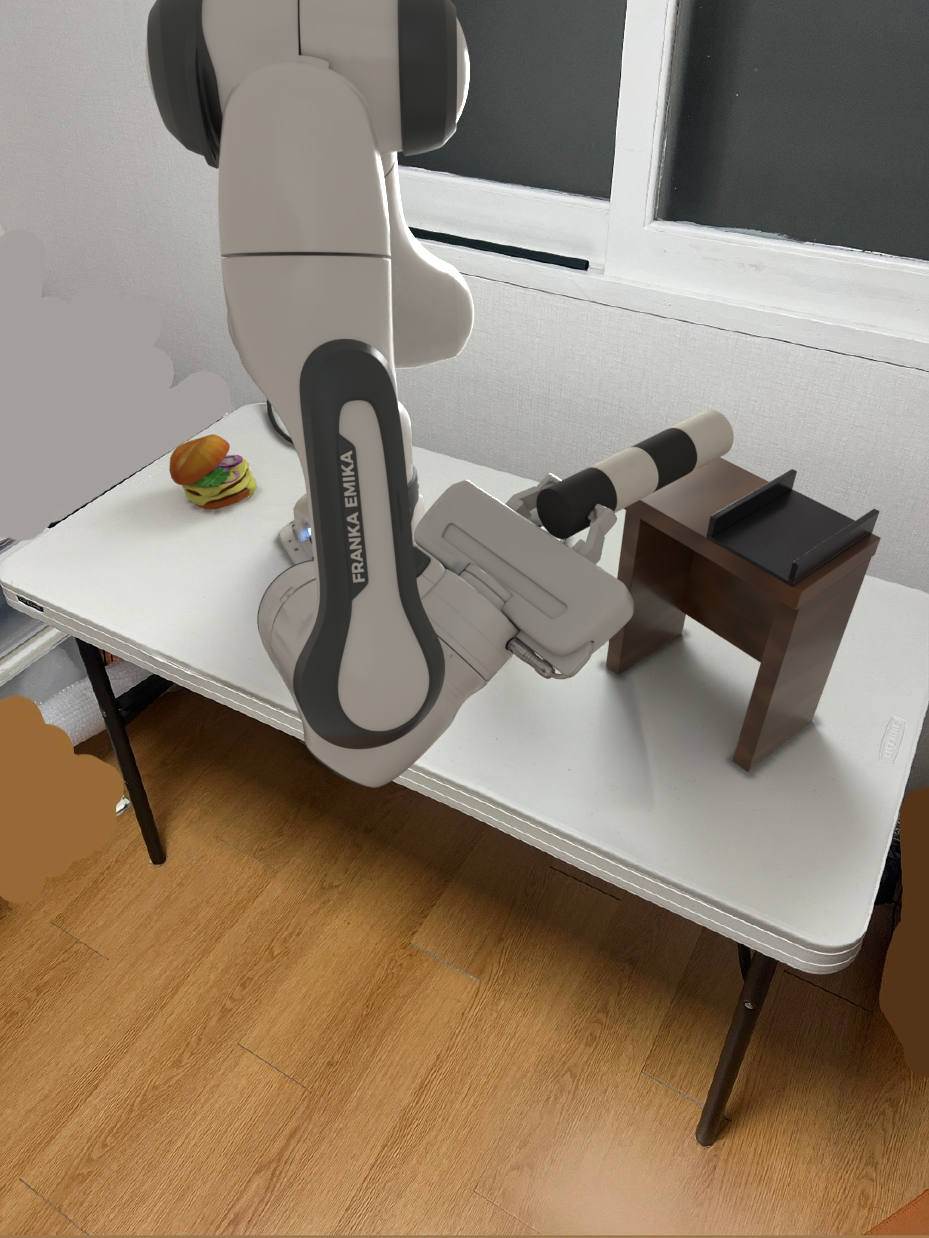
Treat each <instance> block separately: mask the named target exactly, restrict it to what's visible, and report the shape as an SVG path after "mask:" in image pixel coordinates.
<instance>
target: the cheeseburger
mask: <svg viewBox="0 0 929 1238" xmlns="http://www.w3.org/2000/svg"><path fill="white" fill-rule="evenodd" d="M230 445H231V444H230V443H229V442H228V441H227V440H226V439H225V438H223V437H221V436H219V435H217V434H215V433H213V434H208V435H205V436H202V437H199V438H195V439H192V440H189V441H188V440H187V441H186V442H183V443H182V444H181V443H180V445H178V446H177V447H176V448H175V449H174V450H173V451H172V453H171V455H170V457H169V475H170V478H171V479H172V481H173V483H175V484H177V485H179V486H182V489H183V490H184V493H185V496H186V498H187V499H188V500H189V501H190V502H192V503H193V504H194V505H195V506H197V507H199V508H202V509H204V510H220V509H223V508H227V507H230V506H232V505H234V504H238V503H240V502H241V501H243V500H244V499H246V498H250V497H252V496H253V495H254V494H255V492H256V489H257V480H256V478H255V477H253V472H252V471H251V469H250V467H251V466H250V463H249V462H248V461H247V459H246V458H244V457H243V456H242V455H239V454H229V451H230V449H231V447H230ZM228 454H229V455H228Z"/></svg>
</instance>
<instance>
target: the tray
mask: <svg viewBox="0 0 929 1238" xmlns="http://www.w3.org/2000/svg"><path fill="white" fill-rule="evenodd" d="M797 473H798V471H797V470H796V469H793V468H791V469H789V470H788V471H786V472H784V473H782V474H781V475H779V476H777V477H776V478H774V479H772V480H770V481H769V483H767V484H765V485H763V486H762V487H760V488H758V489H756V490H755V491H753V492H751V493H750V494H748V495H746V496H744V497H743V498H741V499H739V500H737V501H736V502H734V503H732V504H730V505H729V506H727V507H725V508H723V509H722V510H720V511H718V512H717V513H715V514H713V515H711V516H710V520H709V525H708V530H707V535H706V538H707V539H709V540H711V541H712V542H714V543H716V544H718V545H719V546H721V547H723V548H725V549H726V550H728V551H730V552H732V553H733V554H735V555H737V556H739V557H740V558H742V559H744V560H746V561H747V562H749V563H751V564H752V565H754V566H756V567H758V568H759V569H761V570H763V571H765V572H766V573H768V574H770V575H772V576H773V577H775V578H777V579H779V580H780V581H782V582H784V583H786V584H787V585H789V586H791V587H793V586H795V585H796V584H798V583H799V582H801V581H802V580H804V579H805V578H807V577H808V576H809V575H811V574H812V573H814V572H815V571H817V570H818V569H820V568H821V567H823V566H824V565H826V564H827V563H829V562H830V561H832V560H833V559H835V558H836V557H837V556H839V555H840V554H842V553H843V552H845V551H846V550H848V549H849V548H851V547H852V546H854V545H855V544H857V543H858V542H860V541H861V540H863V539H864V538H865V537H867V536H868V535H870V534H871V533H872V534H873V532H874V529H875V527H876V523H877V520H878V517H879V515H880V512H881V511H880V510H878V509H876V508H873V509H871V510H870V511H868V512H866V513H864V514H863V515H862V516H860V517H858V519H853V518H851V517H849V516H848V515H845V514H843V513H841V512H839V511H837V510H835V509H833V508H831V507H829V506H827V505H825V504H823V503H821V502H819V501H817V500H815V499H813V498H811V497H809V496H807V495H806V494H803V493H801V492H799V491H797V490H795V489H793V488H794V485H795V481H796V477H797Z"/></svg>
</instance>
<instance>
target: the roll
mask: <svg viewBox="0 0 929 1238" xmlns="http://www.w3.org/2000/svg"><path fill="white" fill-rule="evenodd" d="M734 439H735V435H734V430H733V427H732V424H731V423H730V421H729V420H728V418H727V417H726V415H724V414H723V413H721V411H717V410H715V409H706V410H704V411H701V412H699V413H697V414H695V415H693V416H691V417H689V418H687V419H685V420H682V421H680V422H679V423H676V424H674V425H673V426H670V427H668V428H666V429H664V430H662V431H660V432H658V433H656V434H654V435H652V436H650V437H647V438H645V439H643V440H642V441H639V442H637V443H635V444H634V445H632V446H629V447H628V448H625V449H623V450H621V451H619V452H617V453H615V454H612V455H611V456H608V457H607V458H605V459H603V460H601V461H599V462H596V463H594V464H592V465H590V466H589V467H586V468H583V469H582V470H580V471H578V472H576V473H573V474H572V475H570V476H568V477H566V478H564V479H561V480H562V481H560V482H558V483H556V484H554V485H551V486H549V487H547V488H545V489H543V490H542V491H541V492H540V493H539V494H538V497H537V501H536V508H537V513H538V516H539V519H540V521H541V523H542V525H543V526H544V528H545V529H546V530H547V531H548V532H549V533H550V534H551V535H552V536H554V537H555V538H558V539H565V540H567V539H569V538H571V537H573V536H575V535H577V534H579V533H580V532H582V531H584V530H586V529H588V528H590V525H589V523H588V521H587V519H586V518H585V517H586V515H587V514H588V513H589V512H590V511H592V510H594V506H595V505H596V504H598V503H600V504H602V505H604V506H606V507H607V508H610V509H611V510H613V511H614V513H615V514H616V513H618V512H620V511H622V510H625V509H624V508H625V507H627V506H629V505H631V504H633V503H635V502H637V501H639V500H640V499H642V498H644V497H646V496H648V495H650V494H652V493H654V492H655V491H657V490H659V489H661V488H663V487H665V486H667V485H669V484H671V483H672V482H674V481H676V480H678V479H680V478H682V477H684V476H686V475H687V474H689V473H691V472H693V471H695V470H697V469H699V468H701V467H702V466H704V465H706V464H708V463H710V462H712V461H714V460H716V459H718V458H719V457H721V458H722V457H723V456H725V455H727V454H728V453H729V452H730V451H731V449H732V447H733V445H734Z"/></svg>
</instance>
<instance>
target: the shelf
mask: <svg viewBox="0 0 929 1238" xmlns="http://www.w3.org/2000/svg"><path fill="white" fill-rule="evenodd" d="M769 482H770V481H769V480H766V479H765V478H763V477H760V476H759V475H757V474H755V473H753V472H751V471H748V470H746V469H744V468H742V467H741V466H738V465H737V464H734V463H733V462H730V461H728V460H727V459H725V458H723V457H722V456H721V457H719V458H718V459H716V460H714V461H712V462H710V463H708V464H706V465H704V466H702V467H701V468H699V469H697V470H695V471H693V472H691V473H689V474H687V475H686V476H684V477H682V478H680V479H678V480H676V481H674V482H672V483H671V484H669V485H667V486H665V487H663V488H661V489H659V490H657V491H655V492H654V493H652V494H650V495H648V496H646V497H644V498H642V499H640V500H639V501H637V502H635V503H633V504H631V505H629V506H627V507H625V508H624V509H623V510H625V512H624V522H623V529H622V537H621V546H620V551H619V552H620V553H619V560H618V567H617V568H618V569H617V576H616V578H617V579H618V580H620V581H621V582H623V583H624V584H625V586H626V587H627V589H628V590H629V592H630V594H631V596H632V598H633V600H634V611H633V616H632V617H631V619H630V620H629V621H628V622H627V623H626V624H625V625H624V626H623V627H622V628H621V629H620V630H619V631H618V632H617V633H616V634H615V635H614V636H613V637H612V638H611V639H610V640H608V644H607V645H608V646H607V653H606V662H605V667H606V668H607V669H608V670H610V671H611V672H613V673H614V674H615V675H617V676H620V675H621V674H622V673H624V672H626V671H628V670H629V669H631V668H633V666H635V665H636V664H638V663H640V662H641V661H642V660H644V659H646V658H648V657H649V656H651V655H652V654H653V653H655V652H657V651H658V650H659V649H661V648H663V647H664V646H666V645H667V644H668V643H670V642H672V641H673V640H674V639H677V637H679V636H680V635H682V634H683V632H684V626H685V622H686V621H685V620H686V616H688V617H689V618H691V619H692V620H694V621H695V622H696V623H699V624H700V625H701V626H703V627H704V628H706V629H708V630H709V631H711V632H712V633H714V634H715V635H717V636H718V637H720V638H722V639H723V640H725V641H726V642H728V643H729V644H731V645H732V646H734V647H736V648H737V649H738V650H740V651H741V652H743V653H745V654H746V655H748V656H749V657H751V658H753V659H754V660H756V661H757V662H758V663H760V664H759V667H758V671H757V675H756V678H755V682H754V685H753V688H752V692H751V695H750V697H749V698H750V699H749V702H748V705H747V709H746V712H745V715H744V720H743V722H742V726H741V730H740V733H739V736H738V740H737V743H736V747H735V750H734V753H733V757H732V761H733V763H735V764H737V765H738V766H739V767H741V768H742V769H743V770H745V771H746V772H747V773H750V771H752V770H753V769H755V767H757V766H758V765H759V764H760V763H762V762H763V761H764V760H765V759H766V758H768V757H770V755H772V754H773V753H774V752H775V751H776V750H778V749H779V748H781V746H783V745H784V744H785V743H786V742H787V741H789V740H790V739H791V738H792V737H794V736H795V735H796V734H797V733H799V732H800V731H801V730H802V729H804V728H805V727H806V726H807V725H808V724H810V723H811V722H813V720H814V717H815V714H816V711H817V710H818V706H819V703H820V700H821V698H822V695H823V692H824V691H825V690H824V689H825V686H826V684H827V681H828V679H829V676H830V673H831V670H832V668H833V665H834V663H835V660H836V657H837V653H838V651H839V648H840V645H841V643H842V639H843V637H844V634H845V633H846V629H847V626H848V623H849V620H850V618H851V615H852V613H853V609H854V607H855V605H856V603H857V599H858V597H859V593H860V590H861V588H862V585H863V582H864V579H865V577H866V574H867V572H868V569H869V566H870V563H871V560H872V558H873V557H874V556H875V555H876V552H877V550H878V547H879V544H880V543H881V539H882V538H881V536H878V535H876V534H874V533H873V532H872V533H871V534H870V535H868V536H867V537H865V538H864V539H863V540H861V541H860V542H858V543H857V544H855V545H854V546H852V547H851V548H849V549H848V550H846V551H845V552H843V553H842V554H840V555H839V556H837V557H836V558H835V559H833V560H832V561H830V562H829V563H827V564H826V565H824V566H823V567H821V568H820V569H818V570H817V571H815V572H814V573H812V574H811V575H809V576H808V577H807V578H805V579H804V580H802V581H801V582H799V583H798V584H796V585H795V586H793V587H791V586H789V585H787V584H786V583H784V582H782V581H780V580H779V579H777V578H775V577H773V576H772V575H770V574H768V573H766V572H765V571H763V570H761V569H759V568H758V567H756V566H754V565H752V564H751V563H749V562H747V561H746V560H744V559H742V558H740V557H739V556H737V555H735V554H733V553H732V552H730V551H728V550H726V549H725V548H723V547H721V546H719V545H718V544H716V543H714V542H712V541H711V540H709V539H707V538H706V535H707V530H708V525H709V520H710V516H711V515H713V514H715V513H717V512H718V511H720V510H722V509H723V508H725V507H727V506H729V505H730V504H732V503H734V502H736V501H737V500H739V499H741V498H743V497H744V496H746V495H748V494H750V493H751V492H753V491H755V490H756V489H758V488H760V487H762V486H763V485H765V484H767V483H769Z"/></svg>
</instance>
